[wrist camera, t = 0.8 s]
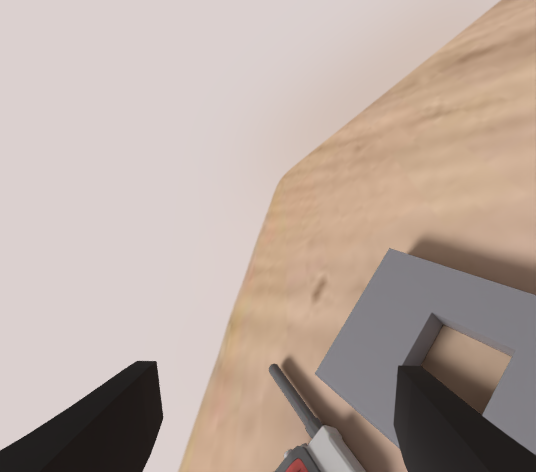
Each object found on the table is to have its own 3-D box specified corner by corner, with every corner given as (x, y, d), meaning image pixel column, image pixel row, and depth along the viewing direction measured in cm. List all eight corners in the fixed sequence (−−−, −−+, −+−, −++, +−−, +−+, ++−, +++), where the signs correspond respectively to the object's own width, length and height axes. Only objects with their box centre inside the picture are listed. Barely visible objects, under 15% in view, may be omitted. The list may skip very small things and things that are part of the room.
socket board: (687, 361, 16) (694, 346, 14) (583, 597, 14) (579, 607, 13) (401, 261, 29) (389, 248, 27) (331, 381, 27) (314, 373, 26)
